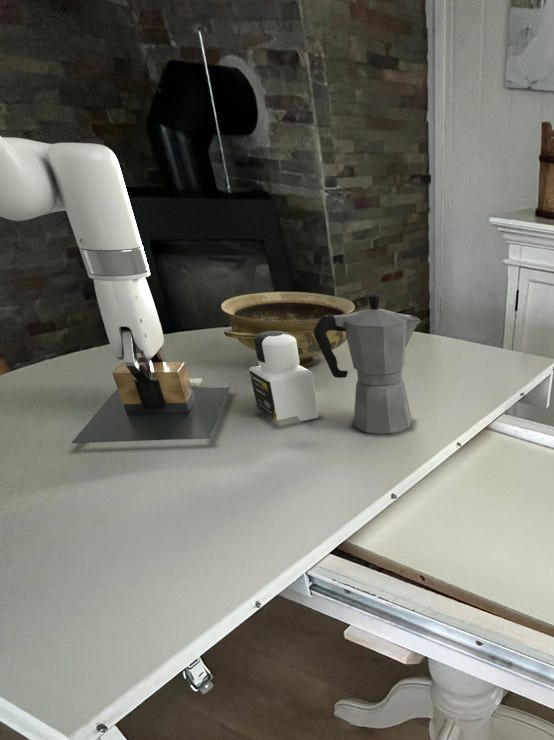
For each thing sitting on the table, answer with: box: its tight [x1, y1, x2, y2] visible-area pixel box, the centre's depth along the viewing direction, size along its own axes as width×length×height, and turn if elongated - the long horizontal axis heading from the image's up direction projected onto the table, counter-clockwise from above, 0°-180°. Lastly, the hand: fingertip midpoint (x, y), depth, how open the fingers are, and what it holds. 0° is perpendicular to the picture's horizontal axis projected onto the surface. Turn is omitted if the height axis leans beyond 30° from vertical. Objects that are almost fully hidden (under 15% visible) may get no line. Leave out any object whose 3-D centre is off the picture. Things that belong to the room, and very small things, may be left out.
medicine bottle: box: [248, 331, 319, 422], centre depth 90 cm, size 7×7×12 cm
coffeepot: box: [314, 293, 422, 435], centre depth 87 cm, size 15×9×18 cm, turn 110°
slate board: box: [71, 386, 231, 444], centre depth 90 cm, size 18×22×1 cm
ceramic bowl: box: [220, 291, 356, 367], centre depth 113 cm, size 30×24×10 cm
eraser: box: [111, 361, 195, 414], centre depth 89 cm, size 9×5×6 cm, turn 100°
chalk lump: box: [189, 377, 203, 387], centre depth 101 cm, size 2×2×2 cm
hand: (159, 400), depth 90 cm, fingers closed on eraser, 5 cm apart
